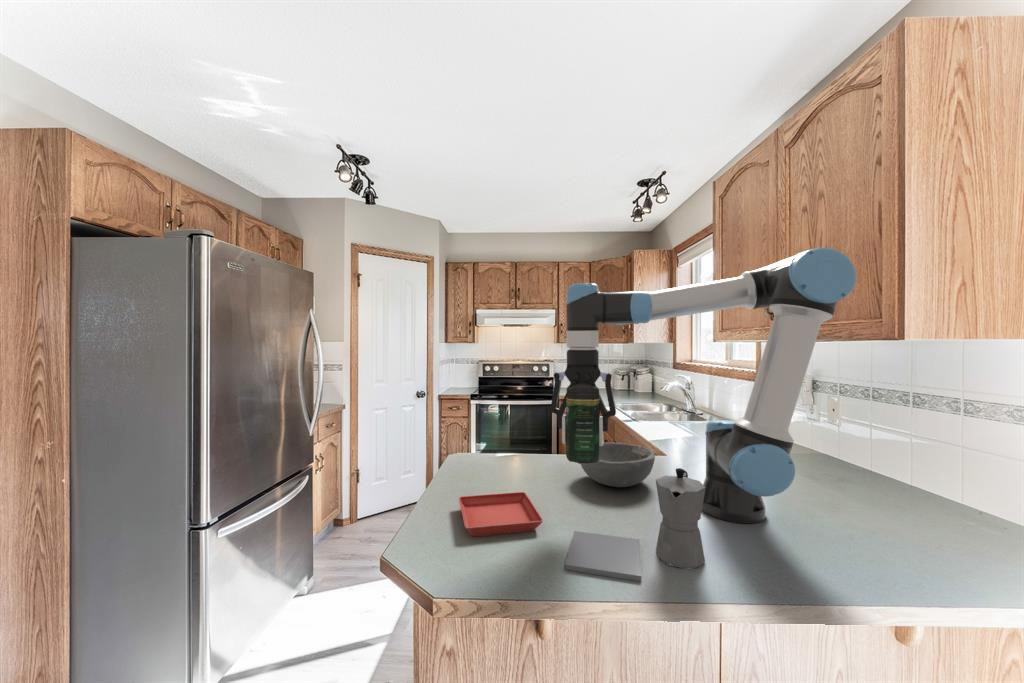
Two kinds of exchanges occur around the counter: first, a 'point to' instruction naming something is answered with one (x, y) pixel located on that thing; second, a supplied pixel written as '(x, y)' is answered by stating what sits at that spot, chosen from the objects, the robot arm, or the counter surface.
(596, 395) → the coffee jar
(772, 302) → the robot arm
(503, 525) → the plant saucer
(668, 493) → the coffeepot
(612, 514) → the counter surface
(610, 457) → the bowl
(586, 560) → the plate
